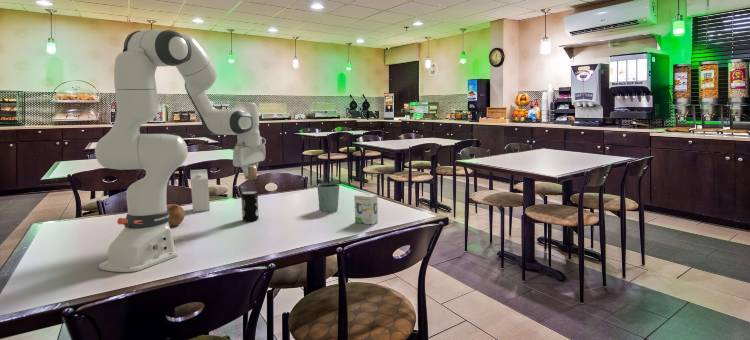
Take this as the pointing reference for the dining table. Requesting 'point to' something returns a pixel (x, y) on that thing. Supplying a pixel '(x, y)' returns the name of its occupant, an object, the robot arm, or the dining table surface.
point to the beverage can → (250, 206)
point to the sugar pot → (251, 172)
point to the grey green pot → (328, 197)
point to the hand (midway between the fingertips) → (250, 174)
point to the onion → (175, 214)
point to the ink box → (366, 208)
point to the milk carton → (200, 190)
